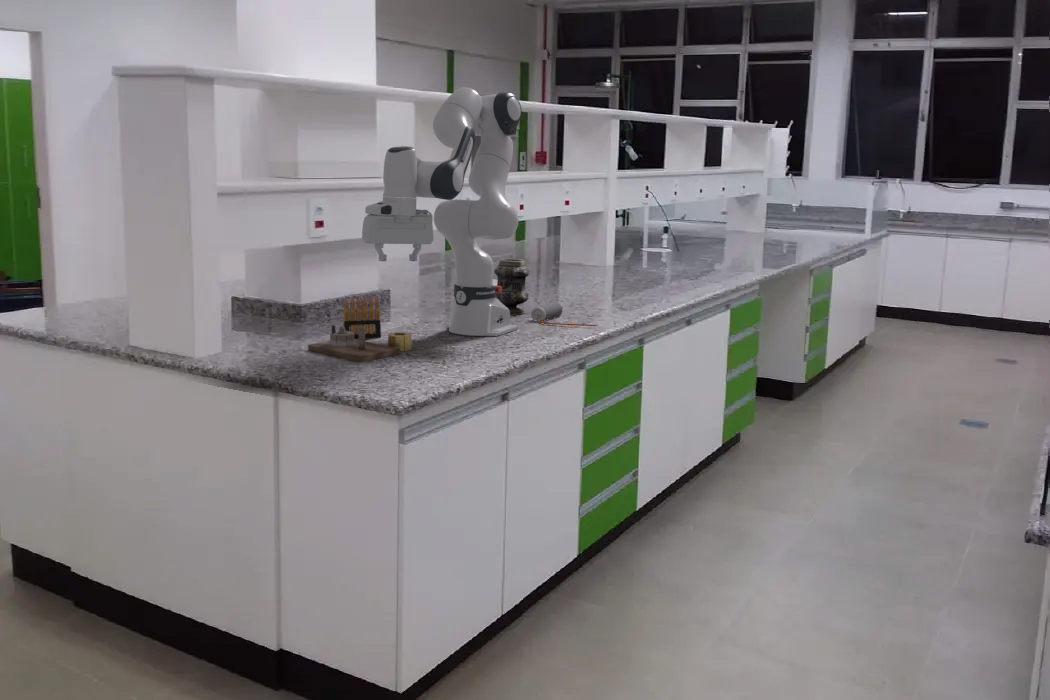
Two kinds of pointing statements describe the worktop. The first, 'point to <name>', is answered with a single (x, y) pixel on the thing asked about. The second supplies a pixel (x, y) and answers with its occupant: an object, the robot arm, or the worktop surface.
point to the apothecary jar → (512, 283)
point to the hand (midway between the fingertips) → (398, 261)
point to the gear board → (352, 346)
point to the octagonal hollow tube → (400, 340)
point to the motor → (550, 313)
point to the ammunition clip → (362, 317)
